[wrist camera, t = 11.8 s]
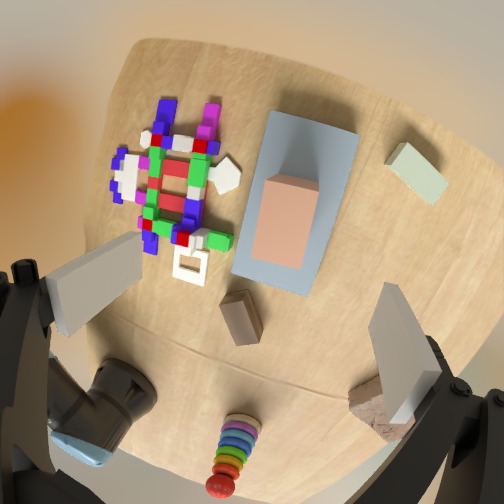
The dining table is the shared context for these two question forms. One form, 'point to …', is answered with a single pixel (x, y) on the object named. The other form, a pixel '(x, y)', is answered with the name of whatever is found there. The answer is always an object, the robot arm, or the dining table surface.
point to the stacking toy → (232, 453)
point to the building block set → (197, 172)
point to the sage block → (417, 173)
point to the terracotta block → (285, 220)
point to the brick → (376, 410)
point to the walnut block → (241, 318)
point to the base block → (303, 166)
